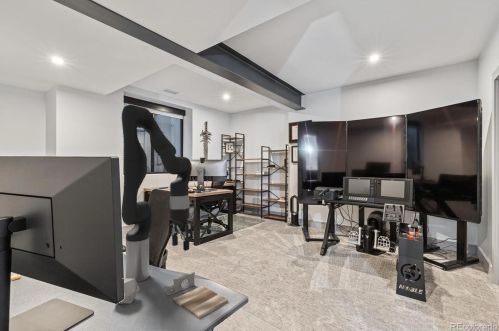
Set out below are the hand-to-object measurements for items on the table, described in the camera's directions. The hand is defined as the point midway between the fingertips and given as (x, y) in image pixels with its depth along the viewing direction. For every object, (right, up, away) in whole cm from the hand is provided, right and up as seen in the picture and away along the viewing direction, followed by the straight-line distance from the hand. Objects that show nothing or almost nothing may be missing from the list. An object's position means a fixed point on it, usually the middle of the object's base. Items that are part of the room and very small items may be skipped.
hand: (180, 247), depth 95 cm
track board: (+10, -17, -7) cm, 21 cm away
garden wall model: (0, -17, +1) cm, 17 cm away
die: (-18, -17, -8) cm, 26 cm away
